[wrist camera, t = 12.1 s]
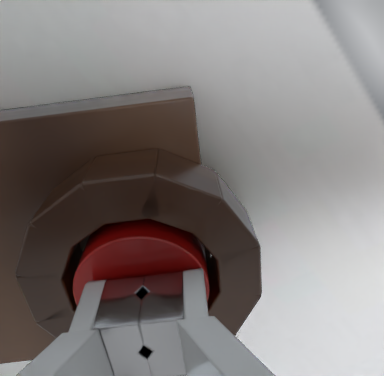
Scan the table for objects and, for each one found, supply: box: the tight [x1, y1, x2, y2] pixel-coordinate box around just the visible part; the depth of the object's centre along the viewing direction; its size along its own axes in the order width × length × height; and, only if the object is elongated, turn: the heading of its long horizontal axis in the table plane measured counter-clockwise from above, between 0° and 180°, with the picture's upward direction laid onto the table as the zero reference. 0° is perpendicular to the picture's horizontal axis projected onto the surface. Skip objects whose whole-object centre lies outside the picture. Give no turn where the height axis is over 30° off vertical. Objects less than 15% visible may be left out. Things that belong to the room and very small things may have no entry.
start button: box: [73, 219, 210, 306], centre depth 10 cm, size 4×4×2 cm
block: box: [0, 86, 262, 364], centre depth 11 cm, size 11×9×4 cm
